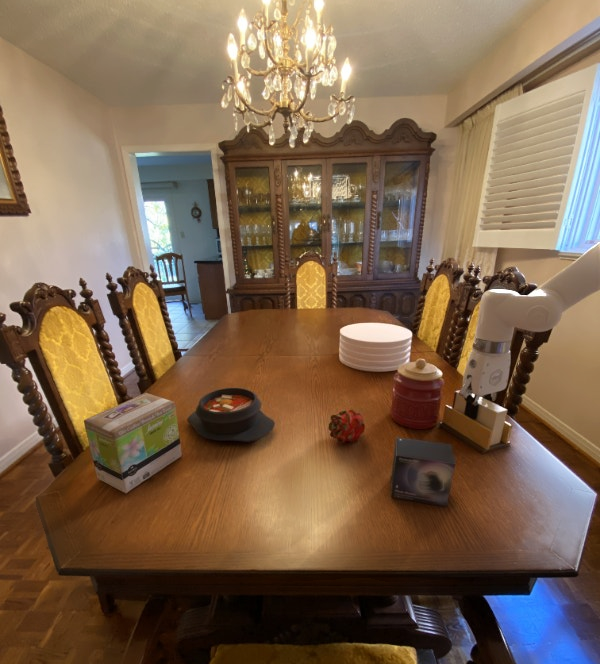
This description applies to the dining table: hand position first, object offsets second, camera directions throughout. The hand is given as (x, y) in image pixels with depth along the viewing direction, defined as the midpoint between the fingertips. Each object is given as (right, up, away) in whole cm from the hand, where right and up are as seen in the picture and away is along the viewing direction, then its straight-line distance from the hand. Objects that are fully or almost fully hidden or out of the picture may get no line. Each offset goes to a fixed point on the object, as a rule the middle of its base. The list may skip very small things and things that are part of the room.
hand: (477, 414), depth 86 cm
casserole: (-63, -5, +7) cm, 63 cm away
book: (0, -5, +2) cm, 5 cm away
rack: (0, -6, +2) cm, 6 cm away
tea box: (-80, -11, -8) cm, 81 cm away
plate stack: (-14, +15, +55) cm, 59 cm away
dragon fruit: (-32, -6, +2) cm, 33 cm away
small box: (-21, -14, -17) cm, 30 cm away
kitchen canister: (-12, -3, +11) cm, 17 cm away
